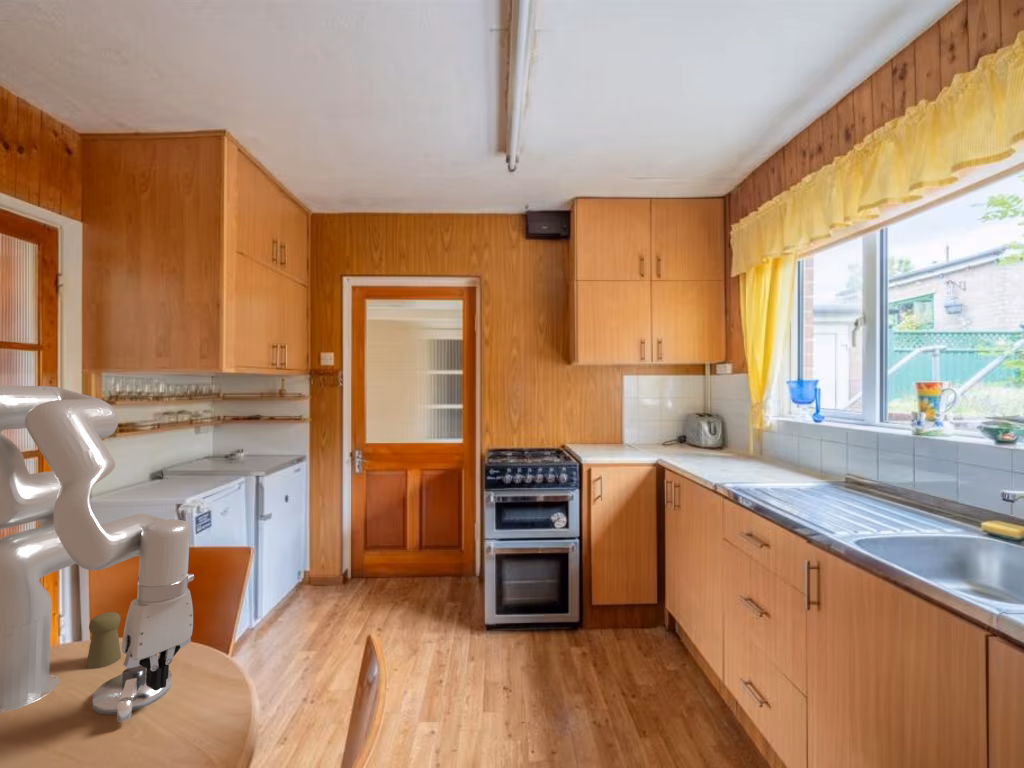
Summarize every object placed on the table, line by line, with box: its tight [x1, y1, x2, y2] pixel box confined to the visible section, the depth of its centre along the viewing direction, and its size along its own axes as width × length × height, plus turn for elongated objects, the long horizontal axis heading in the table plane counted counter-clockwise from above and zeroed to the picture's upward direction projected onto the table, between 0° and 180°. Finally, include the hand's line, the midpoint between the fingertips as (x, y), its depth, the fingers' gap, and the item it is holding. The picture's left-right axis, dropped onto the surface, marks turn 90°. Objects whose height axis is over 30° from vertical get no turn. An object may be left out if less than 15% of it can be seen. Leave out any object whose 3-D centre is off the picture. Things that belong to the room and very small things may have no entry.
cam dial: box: [92, 666, 173, 723], centre depth 91 cm, size 17×12×4 cm
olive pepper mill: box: [86, 611, 122, 670], centre depth 104 cm, size 6×6×11 cm
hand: (156, 686), depth 90 cm, fingers closed
